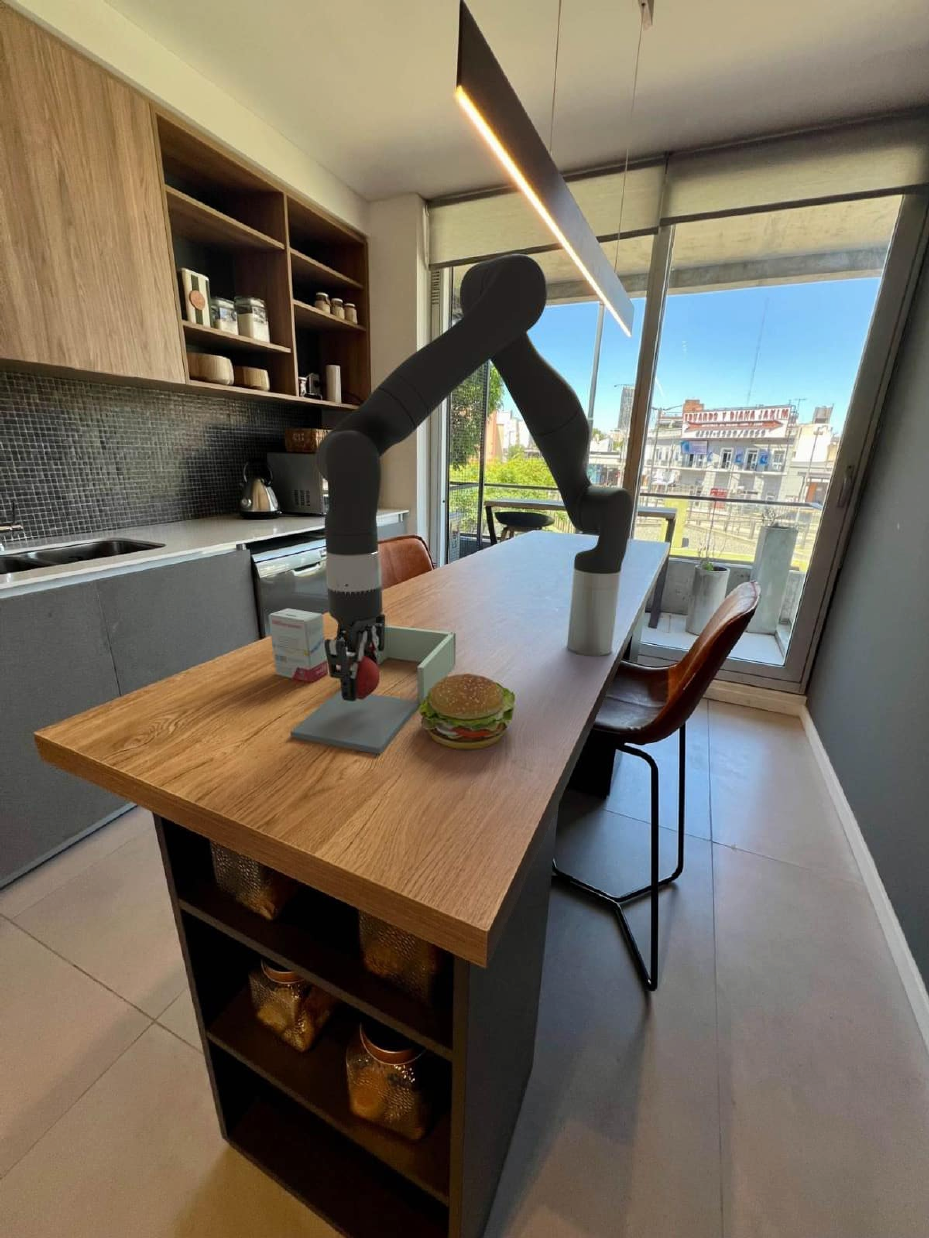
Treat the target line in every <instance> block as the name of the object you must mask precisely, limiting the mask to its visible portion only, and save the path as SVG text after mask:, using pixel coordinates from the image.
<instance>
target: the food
mask: <svg viewBox="0 0 929 1238" xmlns="http://www.w3.org/2000/svg"><path fill="white" fill-rule="evenodd" d="M515 701H516V695H515V693H514V692H513V691H511V690H509V688H507V687H504V686H502V685H501V684H500V683H499V682H495V681H494V680H492V679H490V678H488V677H486V676H483V675H479V674H473V673H462V674H454V675H450V676H446V677H445V678H444V679H442V680H440V681H438V682H437V683H436V684H435V685H434V686H433V687H432V688H431V689H430V690H428V696H427V697H426V698H425V700H424V701H423V702H422V703H421V704H419V707H418V708H417V710H416V711H418V712H419V713H420V716H422V717H421V718H420V724H421V726H422V728H423V729H425V730H426V731H427V733H428V734H429V736H430V737H431V738H432V739H433V741H435V742H437V743H438V744H440V745H442V746H445V747H449V748H453V749H457V750H475V749H482V748H485V747H488V746H491V745H493V744H495V743H497V742H498V741H499V740H500V739H501V738H502V736H503V735H504V734H505V733H506V729H507V728H508V726H507V724H509V723H510V721H511V720H512V719H513V715H514V709H515V707H516V706H515V705H514V704H515Z"/></svg>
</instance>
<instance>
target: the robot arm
mask: <svg viewBox="0 0 929 1238" xmlns="http://www.w3.org/2000/svg"><path fill="white" fill-rule="evenodd" d="M547 283H548V282H547V279H546V274H545V272H544V270H543V268H542V266H541V265H540V264H539V262H538V261H537V260H535V259H534V258H533V257H531V256H529V255H526V254H521V253H513V254H506V255H502V256H499V257H496V258H495V257H494V258H492V259H487V260H485V261H481V262H479V263H476V264H474V265H473V266H471V267H469V269H468V270H467V271H466V272H465V274H464V276H463V277H462V280H461V283H460V287H459V302H460V309H461V311H462V312H461V313H462V315H463V316H462V317H461V318H460V319H459V320H457V322H455V323H454V324H453V325H452V326H451V327H449V328H448V329H447V330H445V331H444V332H443V333H442V334H440V335H439V336H437V337H436V338H434V339H433V340H432V341H430V342H429V343H427V344H425V345H423V347H421V348H420V349H418V350H416V351H415V352H414V353H413V354H411V355H410V356H408V358H406V359H405V360H404V361H403V362H402V363H400V364H399V365H398V366H397V367H396V368H395V369H394V370H392V371H391V373H389V375H388V376H387V377H386V378H385V379H384V380H383V381H382V382H381V383H380V384H379V385H378V386H377V387H376V388H375V389H374V390H373V391H372V393H370V395H369V396H368V397H367V399H366V400H365V401H364V402H363V403H362V404H361V405H360V406H359V407H358V408H356V409H355V410H353V411H352V412H351V413H350V414H349V415H347V416H346V417H345V418H344V419H343V420H342V421H340V422H339V423H338V424H337V425H336V426H334V427H333V428H332V429H331V430H330V431H329V432H328V433H327V434H326V435H325V436H324V437H323V438H322V439H321V441H320V442H319V444H318V446H316V447H317V448H316V452H315V459H314V460H315V466H316V468H317V469H316V470H317V471H318V472H319V474H320V476H321V477H322V478H323V479H324V480H325V481H326V482H327V494H328V495H327V497H328V500H327V501H328V510H327V511H326V513H325V516H324V539H325V551H326V554H325V555H326V556H325V557H326V559H325V574H326V575H325V576H326V588H327V599H328V600H327V601H328V613H329V615H330V617H331V618H333V619H334V620H335V621H336V622H337V631H336V636H335V637H334V638H333V639H330V638H325V643H324V646H325V651H326V657H327V668H328V673H329V677H330V678H332V679H339V681H340V680H341V682H340V690H341V692H342V698H343V699H344V700H347V701H353V702H354V701H355V700H356V699H357V698H358V690H357V677H356V673H357V667H358V663H359V662H361V661H362V656H363V651H364V656H366V657H368V658H370V659H371V660H372V661H373V662H374V663H375V664H376V665H377V659H378V658H379V656H380V653H379V652H380V651H383V650H384V644H385V625H386V615H385V614H383V609H384V607H383V592H382V590H383V588H382V587H383V586H382V566H381V560H380V555H379V542H378V541H379V539H378V537H379V536H378V523H377V514H378V508H379V503H380V494H381V493H380V492H381V485H382V484H381V483H382V465H381V464H382V463H381V457H382V456H383V455H384V454H385V453H386V452H387V451H388V450H389V449H390V448H391V447H393V446H395V445H398V444H401V443H402V442H404V441H405V440H406V439H407V438H409V437H410V435H412V434H413V433H414V432H415V431H416V430H417V429H418V428H419V427H420V425H422V424H423V422H425V421H426V419H427V418H428V417H429V416H431V414H432V413H433V412H434V411H435V410H436V409H437V408H438V406H440V404H442V403H443V402H444V401H445V399H447V398H448V397H449V396H450V395H451V393H453V392H454V391H455V390H456V389H457V388H458V387H459V386H460V385H461V384H462V383H464V382H465V381H466V380H467V379H468V378H469V377H471V375H473V373H475V372H476V371H477V370H478V369H479V368H481V367H482V366H483V365H484V364H486V363H487V362H488V361H490V362H491V363H492V365H493V366H494V368H495V370H496V371H497V373H498V374H499V376H500V378H501V379H502V382H503V383H504V385H505V386H506V390H507V391H508V393H509V395H510V396H511V399H512V400H513V403H514V404H515V406H516V408H517V410H518V412H519V414H520V415H521V417H522V419H523V421H524V424H525V426H526V429H527V430H528V432H529V434H530V436H531V437H532V440H533V442H534V443H535V445H536V448H537V449H538V451H539V452H540V453H541V456H542V458H543V460H544V461H545V464H546V466H547V468H548V470H549V472H550V474H551V476H552V479H553V480H554V482H555V485H556V487H557V489H558V492H559V496H560V498H561V500H562V503H563V505H564V508H565V511H566V513H567V517H568V519H569V521H570V523H571V524H572V525H573V527H574V529H576V530H578V531H579V532H581V533H584V534H590V535H596V536H598V538H597V543H596V546H594V547H592V548H591V549H587V550H581V551H579V552H577V553H576V554H575V555H574V562H573V571H572V572H573V574H572V585H571V596H570V597H571V599H570V611H569V622H568V631H567V632H568V633H567V645H566V646H567V648H568V650H570V651H572V652H574V653H577V654H580V655H584V656H593V657H598V656H605V655H608V654H610V653H612V650H613V642H614V634H615V627H616V626H615V625H616V617H617V609H618V608H617V607H618V599H619V591H620V590H619V589H620V581H621V574H622V571H621V570H622V564H623V561H624V559H625V556H626V554H627V553H626V552H627V547H628V546H627V545H628V541H629V540H628V539H629V534H630V528H631V524H632V516H633V498H632V495H631V493H630V492H629V490H627V489H626V488H623V487H619V486H618V487H617V486H599V485H594V484H593V483H592V482H591V481H590V479H589V477H588V474H587V472H586V470H585V467H584V460H585V457H586V453H587V451H588V449H587V448H588V446H589V440H590V425H589V424H590V423H589V422H588V418H587V415H586V412H585V410H584V409H583V406H582V404H581V401H580V398H579V397H578V394H577V392H576V391H575V389H574V388H573V386H572V385H571V384H570V383H569V382H568V381H567V379H566V378H565V377H564V376H563V375H562V374H561V373H560V372H559V371H558V370H557V369H556V368H555V367H554V366H553V365H552V364H551V363H550V362H549V361H548V360H547V359H546V358H545V357H544V356H543V355H542V354H541V353H540V351H539V350H538V349H537V348H536V345H535V344H534V343H533V341H532V339H531V337H530V336H529V333H528V331H529V330H531V329H532V328H533V327H534V326H535V325H536V324H537V323H538V321H539V319H541V316H542V315H543V312H544V310H545V308H546V304H547V298H548V285H547ZM377 636H378V637H379V642H378V639H377ZM346 651H347V652H350V653H356V654H355V655H354V656H347V653H346ZM348 661H350V662H351V667H350V670H349V665H348Z"/></svg>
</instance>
